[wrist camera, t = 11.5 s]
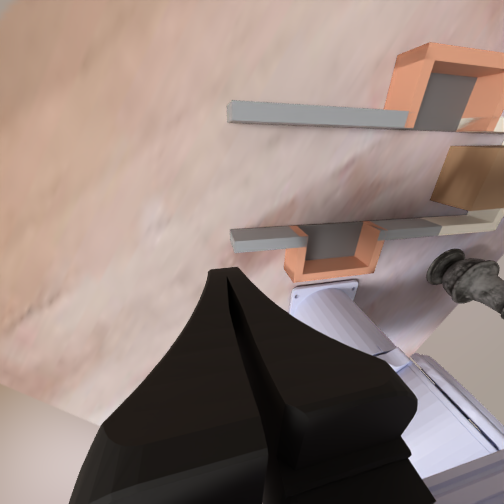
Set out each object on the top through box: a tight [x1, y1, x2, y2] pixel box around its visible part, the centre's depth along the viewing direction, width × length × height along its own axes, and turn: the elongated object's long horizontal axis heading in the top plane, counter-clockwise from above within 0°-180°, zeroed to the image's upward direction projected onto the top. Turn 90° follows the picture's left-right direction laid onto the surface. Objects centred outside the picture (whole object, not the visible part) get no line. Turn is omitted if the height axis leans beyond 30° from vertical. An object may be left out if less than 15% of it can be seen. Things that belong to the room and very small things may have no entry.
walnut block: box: [430, 145, 504, 211], centre depth 20 cm, size 5×6×4 cm
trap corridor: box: [227, 42, 504, 283], centre depth 19 cm, size 17×28×2 cm, turn 89°
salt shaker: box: [426, 249, 504, 319], centre depth 23 cm, size 6×6×12 cm
